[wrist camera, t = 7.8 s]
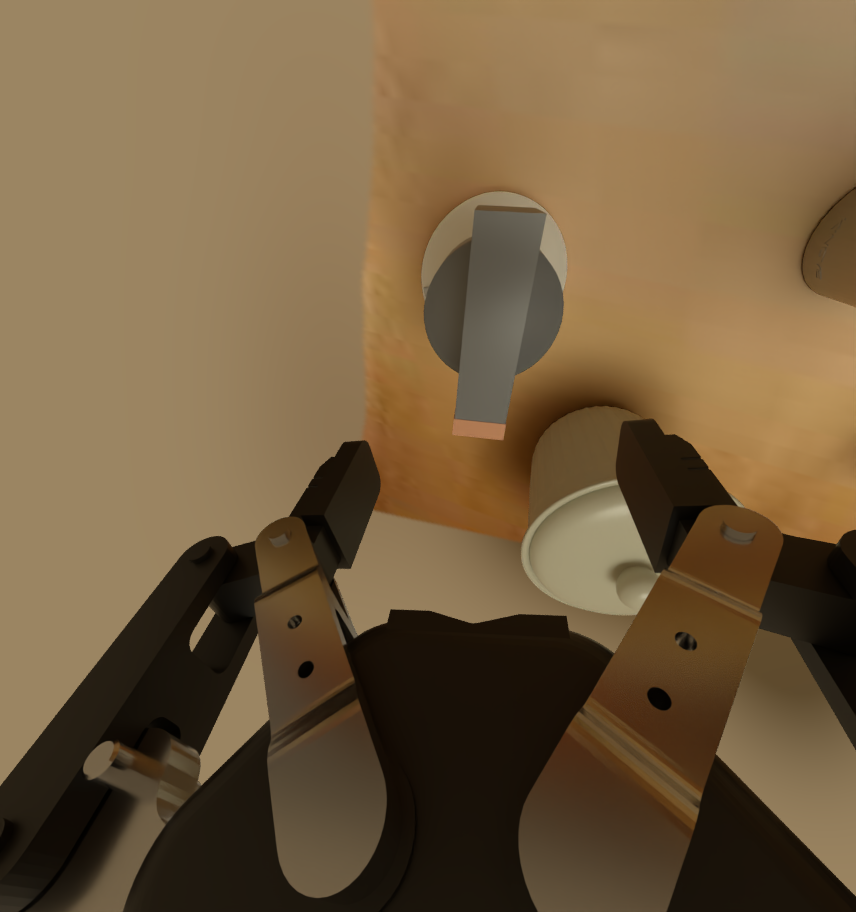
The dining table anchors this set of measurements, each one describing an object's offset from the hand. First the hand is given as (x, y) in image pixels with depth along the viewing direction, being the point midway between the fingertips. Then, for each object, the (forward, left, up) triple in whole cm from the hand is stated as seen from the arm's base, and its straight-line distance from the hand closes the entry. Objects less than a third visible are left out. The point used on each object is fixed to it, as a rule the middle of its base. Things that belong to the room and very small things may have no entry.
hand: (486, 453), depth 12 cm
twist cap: (0, 0, -19) cm, 19 cm away
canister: (-10, +21, -29) cm, 37 cm away
